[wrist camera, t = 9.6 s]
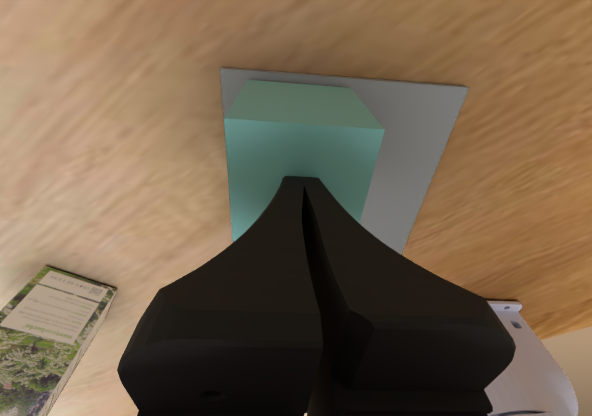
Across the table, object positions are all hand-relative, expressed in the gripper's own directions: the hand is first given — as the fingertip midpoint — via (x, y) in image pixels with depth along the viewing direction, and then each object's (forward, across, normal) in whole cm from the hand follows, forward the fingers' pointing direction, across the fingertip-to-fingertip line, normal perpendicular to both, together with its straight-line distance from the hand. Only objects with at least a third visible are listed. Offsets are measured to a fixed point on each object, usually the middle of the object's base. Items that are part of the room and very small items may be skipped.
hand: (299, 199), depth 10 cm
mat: (+7, -2, +3) cm, 8 cm away
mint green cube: (+6, 0, 0) cm, 6 cm away
